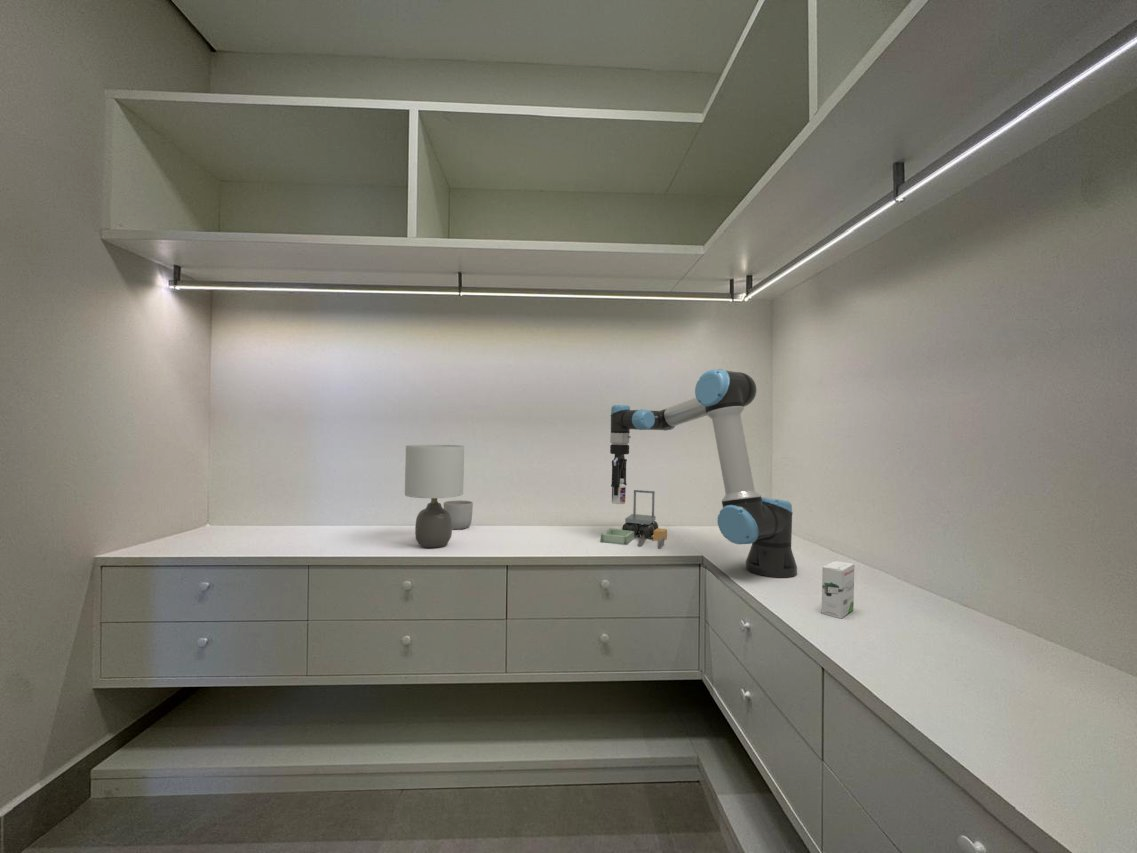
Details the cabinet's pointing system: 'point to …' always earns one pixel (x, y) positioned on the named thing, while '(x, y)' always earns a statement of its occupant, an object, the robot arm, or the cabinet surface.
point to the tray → (617, 536)
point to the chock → (659, 534)
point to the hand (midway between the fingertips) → (618, 502)
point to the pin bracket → (642, 540)
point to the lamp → (434, 488)
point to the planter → (459, 513)
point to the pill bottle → (621, 492)
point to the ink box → (837, 589)
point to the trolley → (641, 520)
